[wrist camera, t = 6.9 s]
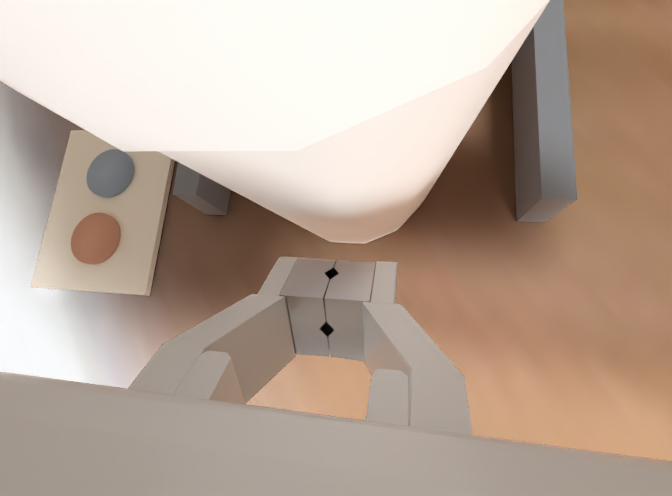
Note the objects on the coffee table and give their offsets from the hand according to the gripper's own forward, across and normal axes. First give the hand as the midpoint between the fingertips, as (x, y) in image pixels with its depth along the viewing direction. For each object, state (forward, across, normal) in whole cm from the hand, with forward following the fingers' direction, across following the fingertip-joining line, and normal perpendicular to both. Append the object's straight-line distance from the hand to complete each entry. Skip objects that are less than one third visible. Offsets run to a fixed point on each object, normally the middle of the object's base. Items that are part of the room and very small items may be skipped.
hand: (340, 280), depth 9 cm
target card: (+6, +12, +1) cm, 14 cm away
